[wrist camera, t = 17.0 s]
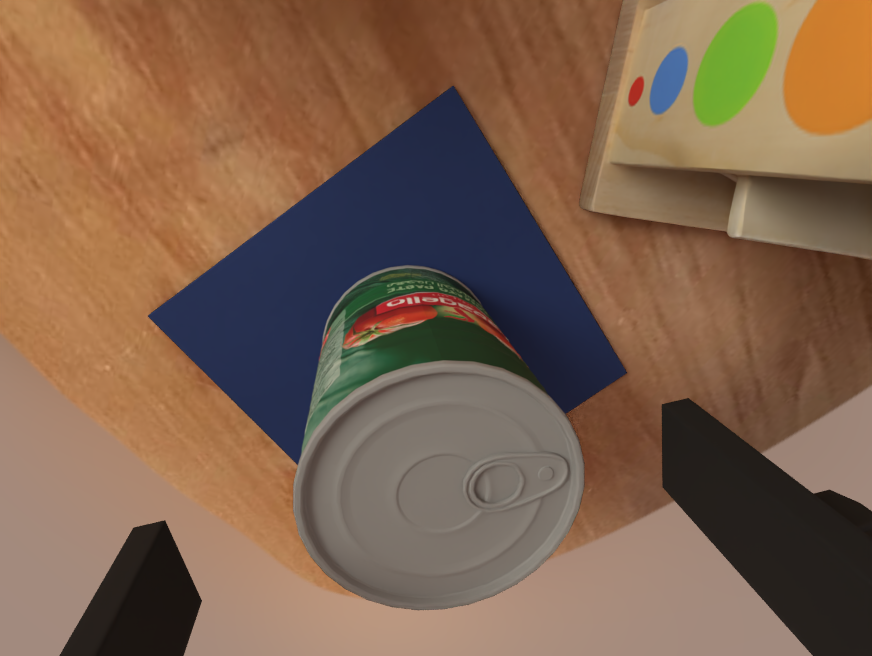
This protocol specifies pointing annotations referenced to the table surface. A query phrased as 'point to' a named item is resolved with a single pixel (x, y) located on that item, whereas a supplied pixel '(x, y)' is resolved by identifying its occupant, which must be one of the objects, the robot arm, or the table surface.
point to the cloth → (379, 249)
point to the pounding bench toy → (740, 121)
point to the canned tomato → (430, 449)
